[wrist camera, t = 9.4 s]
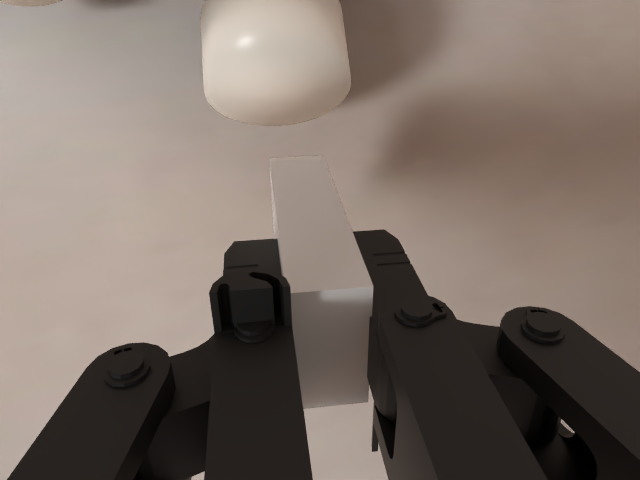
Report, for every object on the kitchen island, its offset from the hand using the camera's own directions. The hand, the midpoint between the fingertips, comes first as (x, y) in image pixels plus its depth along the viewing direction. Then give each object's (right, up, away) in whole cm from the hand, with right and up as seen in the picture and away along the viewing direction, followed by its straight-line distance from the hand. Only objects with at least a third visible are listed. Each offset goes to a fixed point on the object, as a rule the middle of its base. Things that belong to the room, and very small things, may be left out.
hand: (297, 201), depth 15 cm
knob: (-2, +9, +5) cm, 11 cm away
